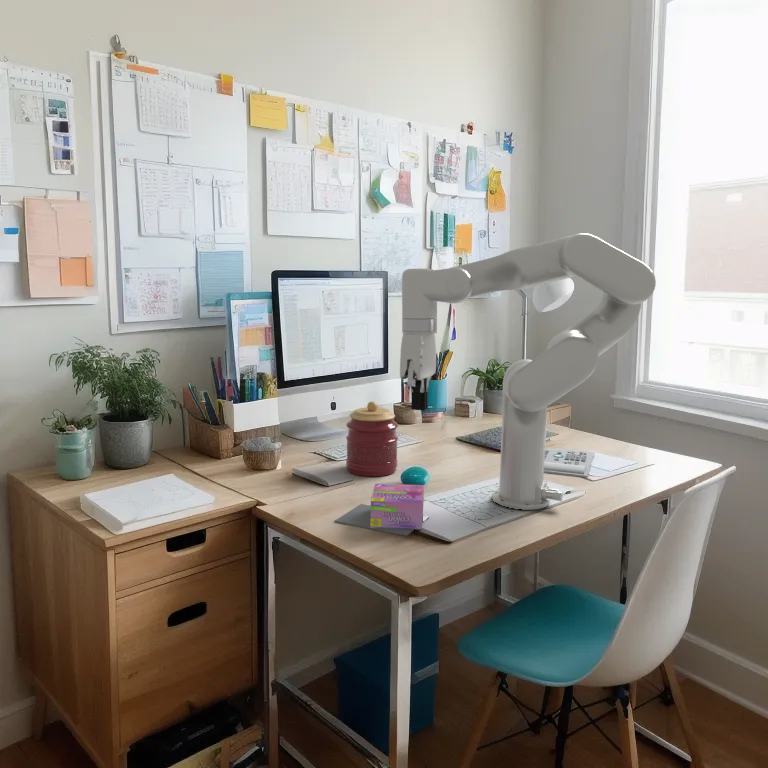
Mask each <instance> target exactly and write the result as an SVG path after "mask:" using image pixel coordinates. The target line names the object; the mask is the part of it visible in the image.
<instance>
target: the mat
mask: <svg viewBox="0 0 768 768" xmlns="http://www.w3.org/2000/svg"><path fill="white" fill-rule="evenodd" d="M334 523H338V524H343V525H349V526H354V527H359V528H364V529H367V530H368V529H369V530H375V531H380V532H385V533H390V534H394V535H399V536H406V537H408V536H409V535H410V534H411V533H413V532H414V531H415V530H414V529H386V528H370V523H371V504H370V505H369V504H363V503H360V504H359V505H357V506H355V507H354V508H352V509H351V510H349V511H348V512H346V513H344V514H343V515H341V516H340V517H338V518H336V519H335V520H334Z"/></svg>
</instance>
